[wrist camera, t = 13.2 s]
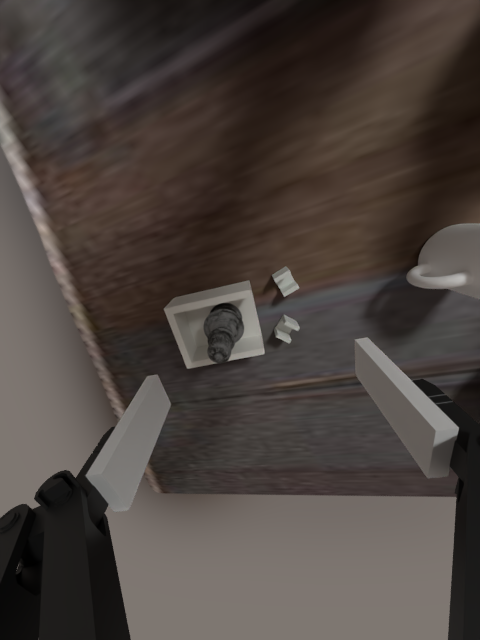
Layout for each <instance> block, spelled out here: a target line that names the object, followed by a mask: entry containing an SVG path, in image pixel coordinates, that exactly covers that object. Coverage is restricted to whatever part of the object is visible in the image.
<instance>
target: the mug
mask: <svg viewBox="0 0 480 640" xmlns="http://www.w3.org/2000/svg"><path fill="white" fill-rule="evenodd" d="M406 279H407V281H408V282H409V283H410V284H412V285H414V286H417V287H421V288H427V289H449V290H452V291H455V292H458V293H461V294H464V295H467V296H470V297H473V298H476V299H479V300H480V224H456V225H451V226H448V227H446V228H443V229H441V230H440V231H438V232H437V233H435V234H434V235H433V236H432V237H430V238H429V240H428V241H427V242H426V243H425V245H424V246H423V248H422V250H421V252H420V254H419V258H418V266H416V267H414V268H412V269H411V270H410V271H409V272H408V273H407V276H406Z"/></svg>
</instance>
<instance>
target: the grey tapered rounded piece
mask: <svg viewBox="0 0 480 640" xmlns="http://www.w3.org/2000/svg"><path fill="white" fill-rule="evenodd" d="M204 333H205V335H206V337H207V338H208V345H209V346H208V349H207V354H208V357H209V358H210V360H211V361H213V362H215V363H225V362H226V361H228V360H229V358H230V356H231V350H232V349H233V347H234V345H235V343H236V342H238V341H239V340H240V339H241V337H242V335H243V333H244V324H243V321H242V314H241V312H240V310H239V309H238V308H237V307H236V306H234V305H233V304H230V303H221V304H218V305H216V306H215V307H213V308H212V310H211V311H210V314H209V315H208V316H207V317H206V319H205V321H204Z"/></svg>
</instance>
